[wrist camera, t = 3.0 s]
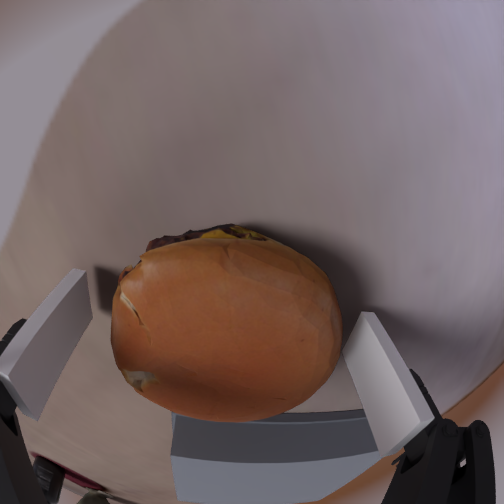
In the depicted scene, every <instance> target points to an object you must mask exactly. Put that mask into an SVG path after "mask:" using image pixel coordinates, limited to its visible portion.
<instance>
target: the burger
mask: <svg viewBox="0 0 504 504" xmlns="http://www.w3.org/2000/svg"><path fill="white" fill-rule="evenodd" d="M139 257H140V258H141V260H140V262H139V263H138V264H137V265H136V266H135V267H134V268H133V267H132V265H129V266H127V267H125V269H124V270H123V271H122V273H121V274H120V276H119V279H118V287H117V290H116V292H115V295H114V297H113V307H112V322H111V345H112V349H113V353H114V358H115V362H116V365H117V367H118V368H119V370H120V371H121V372H122V374H123V376H124V378H125V379H126V381H127V383H129V384H130V385H131V386H132V387H133V388H134V389H135V391H136V392H137V393H139V394H140V395H142V396H144V397H145V398H147V399H148V400H150V401H152V402H154V403H156V404H158V405H160V406H162V407H164V408H166V409H168V410H170V411H172V412H175V413H177V414H181V415H184V416H188V417H192V418H196V419H200V420H207V421H215V422H236V423H237V422H248V421H254V420H260V419H265V418H268V417H272V416H275V415H278V414H281V413H283V412H285V411H288V410H290V409H292V408H294V407H296V406H298V405H299V404H301V403H303V402H305V401H306V400H307V399H308V398H310V397H311V396H312V395H313V394H314V393H315V392H316V391H317V390H318V389H319V388H320V387H321V386H322V385H323V384H324V383H325V382H326V381H327V380H328V378H329V377H330V375H331V374H332V372H333V370H334V368H335V366H336V364H337V361H338V359H339V357H340V350H341V345H342V335H343V324H342V315H341V311H340V308H339V304H338V301H337V298H336V294H335V291H334V288H333V286H332V284H331V282H330V281H329V279H328V277H327V275H326V273H325V272H323V271H322V270H321V269H320V268H319V267H318V266H317V265H316V264H314V263H313V262H312V261H311V260H310V259H309V258H308V257H306V256H304V255H302V254H300V253H298V252H296V251H295V250H293V249H292V248H290V247H288V246H285V245H283V244H282V243H280V242H277V241H275V240H273V239H271V238H268V237H266V236H264V235H262V234H259V233H256V232H254V231H251V230H249V229H246V228H244V227H241V226H238V225H234V224H226V225H219V226H215V227H212V228H208V229H204V230H199V231H192V230H189V231H188V232H186V233H184V234H183V235H179V236H163V237H162V238H156V239H154V240H152V241H150V242H149V244H148V246H147V249H146V253H144V254H143V255H141V256H139Z"/></svg>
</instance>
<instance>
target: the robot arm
mask: <svg viewBox="0 0 504 504" xmlns="http://www.w3.org/2000/svg"><path fill="white" fill-rule="evenodd" d="M92 318H93V316H92V310H91V304H90V297H89V290H88V282H87V274H86V271H84V270H79V269H74V268H73V269H72V270H71V271H70V272H69V273H68V274H67V275H66V276H65V277H64V278H63V279H62V280H61V282H60V283H59V284H58V285H57V286H56V287H55V288H54V289H53V290H52V292H51V293H50V294H49V295H48V296H47V297H46V298H45V300H44V301H43V302H42V303H41V304H40V305H39V307H38V308H37V309H36V310H35V311H34V313H33V314H32V315H31V316H30V317H29V319H28V320H26V319H23V318H22V319H21V320H19V321H18V322H16V323H15V324H13V325H12V327H11V328H10V329H9V331H8V332H7V334H5V336H4V337H3V338H2V341H0V504H48V502H47V500H46V498H45V496H44V493H43V491H42V489H41V487H40V484H39V482H38V480H37V477H36V475H35V472H34V470H33V467H32V464H31V461H30V459H29V456H28V453H27V450H26V447H25V443H24V440H23V437H22V433H21V429H20V426H19V422H18V418H17V415H16V412H15V409H16V407H17V406H18V408H19V409H20V410H21V412H22V413H23V414H24V415H26V416H28V417H30V418H32V419H34V420H36V421H38V420H39V417H40V415H41V413H42V411H43V409H44V406H45V404H46V402H47V400H48V398H49V396H50V394H51V392H52V390H53V388H54V386H55V384H56V382H57V380H58V378H59V376H60V374H61V372H62V370H63V369H64V367H65V365H66V363H67V361H68V359H69V358H70V356H71V354H72V352H73V350H74V349H75V347H76V345H77V343H78V342H79V340H80V338H81V337H82V335H83V333H84V331H85V330H86V328H87V326H88V325H89V323H90V322H91V320H92ZM341 352H342V354H343V357H344V359H345V362H346V364H347V367H348V369H349V372H350V374H351V377H352V380H353V382H354V385H355V387H356V390H357V393H358V395H359V398H360V400H361V403H362V406H363V408H364V411H365V414H366V417H367V419H368V422H369V425H370V428H371V430H372V433H373V436H374V439H375V442H376V445H377V448H378V450H379V453H380V456H381V457H384V456H389V455H392V454H395V453H397V452H398V451H399V450H400V449H401V448H403V447H404V449H405V452H404V453H403V454H402V455H400V456H399V457H398V458H397V459H396V460H394V461H393V462H392V465H394V464H395V463H397V462H398V461H399V460H400V461H399V464H398V465H397V466H396V467H397V469H396V471H395V474H394V476H393V479H392V481H391V483H390V486H389V488H388V490H387V492H386V494H385V497H384V499H383V501H382V503H381V504H496V494H495V493H496V489H495V471H494V460H493V452H492V444H491V437H490V432H489V429H488V427H487V425H486V424H485V423H484V422H483V421H481V420H475V421H474V422H473V423H471V424H470V425H469V426H468V427H458V426H457V425H456V423H455V422H453V421H452V420H450V419H446V418H445V419H443V418H442V417H441V415H440V413H439V411H438V409H437V407H436V405H435V404H434V402H433V400H432V398H431V396H430V394H428V391H427V389H426V387H424V384H423V382H422V380H421V379H420V377H419V376H418V375H417V374H416V373H415V372H414V371H413V370H412V369H408V368H407V366H406V364H405V362H404V361H403V359H402V357H401V355H400V354H399V352H398V350H397V349H396V347H395V345H394V344H393V342H392V340H391V339H390V337H389V336H388V334H387V332H386V331H385V329H384V327H383V326H382V324H381V323H380V321H379V319H378V318H377V316H376V315H375V313H374V312H363V311H361V313H360V316H359V318H358V320H357V322H356V324H355V326H354V328H353V330H352V332H351V334H350V336H349V338H348V340H347V342H346V344H345V346H344V348H343V349H342V351H341ZM464 459H466V464H465V465H464V466H463V467H460V462H462V461H463V460H464Z"/></svg>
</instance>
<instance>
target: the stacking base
mask: <svg viewBox="0 0 504 504" xmlns="http://www.w3.org/2000/svg"><path fill="white" fill-rule="evenodd" d="M172 429H173V440H172V448H171V463H172V470H173V477H174V483H175V489H176V495H177V500H179V501H186V502H194V503H203V504H293V503H303V502H311V501H318V500H320V499H322V498H324V497H326V496H327V495H329V494H331V493H332V492H334V491H336V490H337V489H339V488H340V487H342V486H343V485H345V484H346V483H348V482H350V481H351V480H353V479H354V478H355V477H357V476H358V475H359V474H361V473H363V472H364V471H365V470H367V469H368V468H370V467H371V466H372V465H373V464H375V463H376V462H377V461H379V460H380V459H381V458H383V457H381V456H380V453H379V450H378V448H377V445H376V442H375V439H374V436H373V433H372V430H371V428H370V425H369V422H368V419H367V417H366V414H365V411H364V409H362V410H352V411H340V412H323V413H281V414H278V415H275V416H272V417H268V418H265V419H260V420H254V421H248V422H237V423H236V422H215V421H207V420H200V419H196V418H192V417H188V416H184V415H181V414H177V413H175V412H172Z"/></svg>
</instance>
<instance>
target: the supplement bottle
mask: <svg viewBox="0 0 504 504" xmlns="http://www.w3.org/2000/svg"><path fill="white" fill-rule="evenodd" d="M33 470H34V472H35V475H36V477H37V480H38V482H39V484H40V487H41V489H42V491H43V493H44V496H45V498H46V500H47V502H48V504H57V503H58V502H59V498H60V493H61V489H62V485H63V481H64V477H65V471H64V470H63V469H62V468H61V467H59V466H58V465H56V464H54V463H52V462H51V461H49V460H47V459H45V458H43V457H40V456H36V458H35V461H34V464H33Z"/></svg>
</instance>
